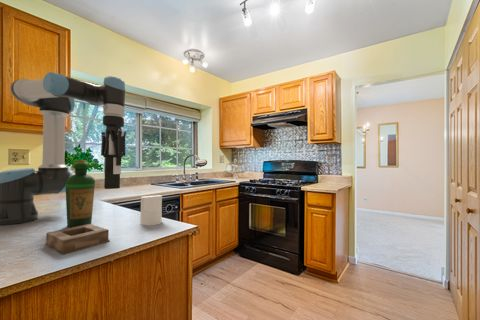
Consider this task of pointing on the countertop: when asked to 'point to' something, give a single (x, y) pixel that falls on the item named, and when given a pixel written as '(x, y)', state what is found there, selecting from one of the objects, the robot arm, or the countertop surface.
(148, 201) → the white upright cylinder
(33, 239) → the countertop surface
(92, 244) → the walnut holder
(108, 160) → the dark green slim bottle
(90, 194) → the bottle
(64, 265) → the countertop surface
